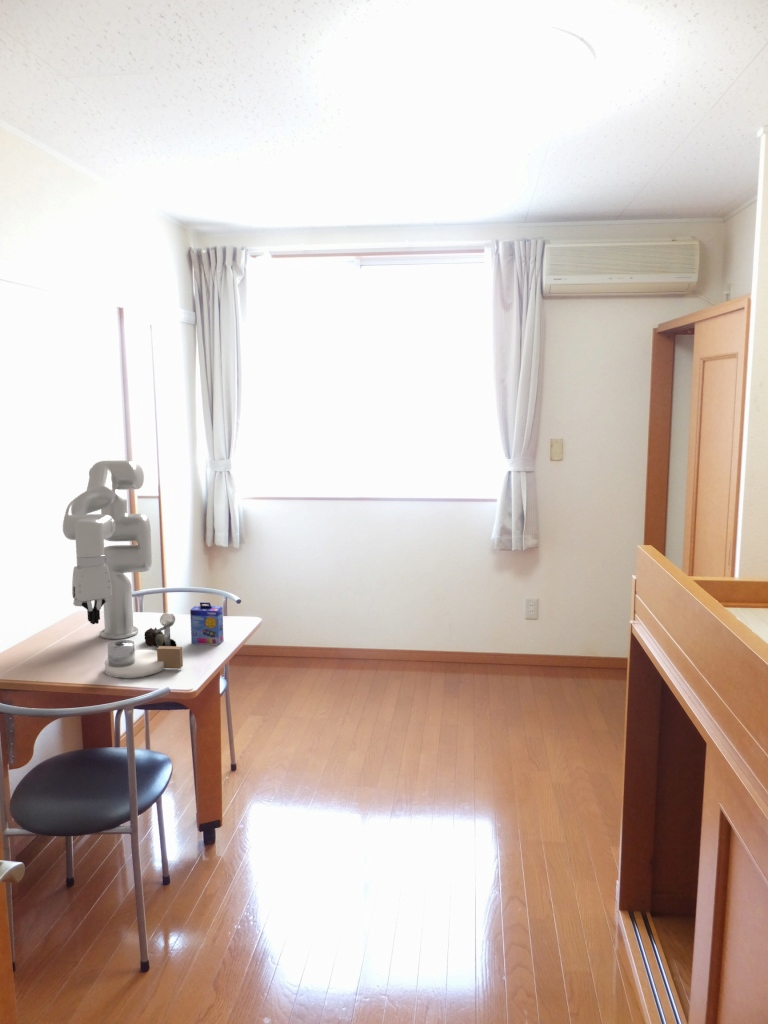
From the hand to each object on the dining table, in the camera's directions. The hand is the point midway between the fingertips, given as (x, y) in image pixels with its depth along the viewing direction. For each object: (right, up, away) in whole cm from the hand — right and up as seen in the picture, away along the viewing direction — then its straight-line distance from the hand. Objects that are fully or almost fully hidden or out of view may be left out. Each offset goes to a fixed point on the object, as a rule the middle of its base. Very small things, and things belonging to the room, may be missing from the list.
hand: (94, 622), depth 216 cm
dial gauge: (+14, -14, +23) cm, 30 cm away
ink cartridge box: (+25, -12, +36) cm, 45 cm away
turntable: (+11, -15, +10) cm, 22 cm away
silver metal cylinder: (+6, -13, +7) cm, 16 cm away
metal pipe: (+9, -13, +32) cm, 36 cm away
